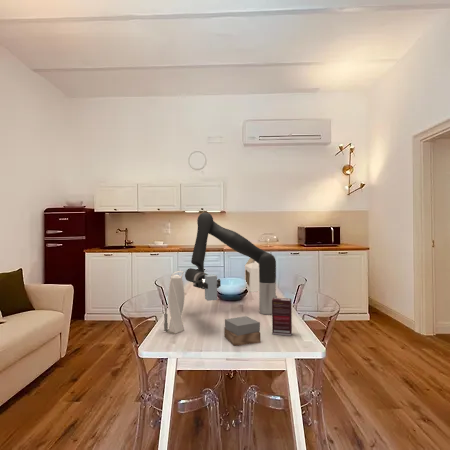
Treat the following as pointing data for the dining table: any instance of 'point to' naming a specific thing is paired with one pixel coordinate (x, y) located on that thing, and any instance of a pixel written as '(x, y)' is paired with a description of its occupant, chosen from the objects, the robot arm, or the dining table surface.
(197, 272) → the robot arm
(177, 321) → the skyscraper
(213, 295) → the slate block
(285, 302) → the supplement box
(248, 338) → the walnut slab
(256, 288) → the gable box
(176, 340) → the dining table surface
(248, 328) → the charcoal block
